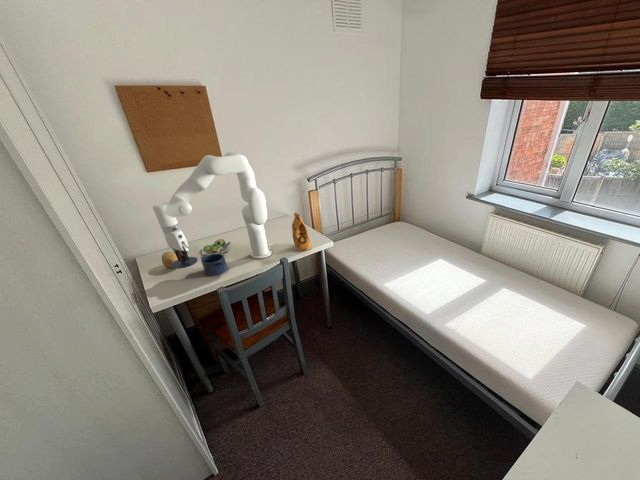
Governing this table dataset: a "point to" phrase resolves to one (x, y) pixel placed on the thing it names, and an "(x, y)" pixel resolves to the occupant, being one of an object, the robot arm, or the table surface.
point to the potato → (169, 259)
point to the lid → (182, 264)
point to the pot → (214, 264)
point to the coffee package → (300, 234)
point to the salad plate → (216, 247)
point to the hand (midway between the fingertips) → (183, 260)
